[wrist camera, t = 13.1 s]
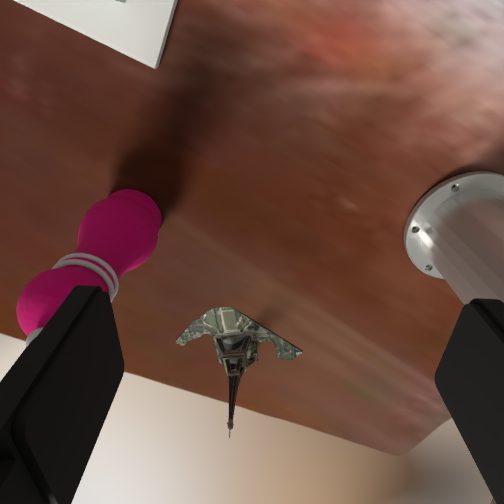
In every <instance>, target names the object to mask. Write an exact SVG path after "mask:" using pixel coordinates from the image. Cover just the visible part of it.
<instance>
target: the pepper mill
mask: <svg viewBox="0 0 504 504" xmlns="http://www.w3.org/2000/svg"><path fill="white" fill-rule="evenodd" d="M161 221H162V218H161V213H160V210H159V208H158V206H157V204H156V203H155V202H154V200H153V199H152V198H150V197H149V196H148V195H146V194H145V193H143V192H140V191H138V190H134V189H122V190H118V191H116V192H114V193H112V194H111V195H110V196H109V197H108V198H107V199H105V200H102V201H100V202H98V203H96V204H94V205H93V206H92V207H91V208H90V209H89V210H88V211H87V213H86V214H85V216H84V217H83V219H82V221H81V224H80V227H79V231H78V246H77V249H76V251H75V252H74V253H73V254H69V255H67V256H65V257H63V258H61V259H60V260H59V261H58V262H57V264H56V265H55V266H54V267H53V268H52V269H50V270H47V271H45V272H42V273H40V274H38V275H37V276H36V277H34V278H33V279H32V280H31V281H30V282H29V283H28V284H27V285H26V286H25V288H24V289H23V291H22V293H21V295H20V297H19V299H18V303H17V309H16V310H17V318H18V321H19V324H20V327H21V328H22V330H23V331H24V333H25V334H26V335H27V336H28V337H27V340H26V347H27V346H28V345H29V343H30V342H31V341H32V340H33V339H34V338H35V337H37V336H38V334H39V333H40V332H41V330H42V329H43V328H44V326H45V325H46V324H47V322H48V321H49V320H50V318H51V317H52V316H53V314H54V313H55V312H56V310H57V309H58V308H59V306H60V305H61V304H62V302H63V301H64V300H65V298H66V297H67V296H68V295H69V293H70V292H71V291H72V289H73V288H74V287H75V286H77V285H89V286H100V287H101V288H102V290H103V292H108V293H109V296H110V300H111V302H112V301H113V298H114V297H115V295H116V294H117V291H118V285H119V284H118V279H119V278H120V276H121V275H122V274H123V273H125V272H127V271H130V270H132V269H134V268H136V267H138V266H140V265H141V264H142V263H144V262H145V261H146V260H147V259H148V258H149V257H150V255H151V254H152V252H153V251H154V249H155V247H156V243H157V238H158V236H157V233H158V231H159V229H160V226H161Z"/></svg>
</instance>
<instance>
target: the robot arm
mask: <svg viewBox="0 0 504 504" xmlns="http://www.w3.org/2000/svg"><path fill="white" fill-rule="evenodd" d="M404 246H405V249H406V252H407V254H408V256H409V257H410V259H411V261H412V262H413V263H414V264H415V265H416V267H417V268H418V269H420V270H421V271H422V272H424V273H426V274H428V275H430V276H433V277H437V278H442V279H445V280H446V282H447V283H448V284H449V285H450V287H451V288H452V289H453V291H454V292H455V293H456V294H457V296H458V297H459V298H460V300H461V301H462V302H463V303H464V307H463V309H462V311H461V313H460V316H459V318H458V320H457V323H456V325H455V328H454V330H453V332H452V335H451V337H450V339H449V342H448V344H447V347H446V349H445V351H444V354H443V356H442V358H441V361H440V363H439V366H438V368H437V370H436V373H435V384H436V387H437V389H438V391H439V393H440V395H441V397H442V399H443V401H444V403H445V405H446V407H447V408H448V410H449V412H450V414H451V416H452V418H453V420H454V422H455V424H456V426H457V428H458V430H459V432H460V434H461V436H462V437H463V440H464V441H465V443H466V445H467V447H468V449H469V451H470V453H471V455H472V457H473V459H474V461H475V463H476V465H477V467H478V469H479V471H480V473H481V474H482V476H483V478H484V480H485V482H486V484H487V486H488V488H489V490H490V492H491V494H492V496H493V499H492V502H491V504H504V175H502V174H498V173H494V172H490V171H475V172H468V173H463V174H460V175H457V176H454V177H451V178H449V179H447V180H445V181H443V182H441V183H440V184H438V185H437V186H435V187H434V188H432V189H431V190H430V191H429V192H428V193H426V194H425V195H424V196H423V197H422V198H421V199H420V200H419V202H418V203H417V204H416V205H415V207H414V208H413V210H412V212H411V213H410V215H409V217H408V219H407V223H406V226H405V230H404ZM123 373H124V360H123V355H122V351H121V346H120V342H119V337H118V332H117V328H116V323H115V319H114V314H113V309H112V305H111V300H110V296H109V293H108V292H103V290H102V288H101V287H100V286H89V285H77V286H75V287H74V288H73V289H72V291H71V292H70V293H69V295H68V296H67V297H66V298H65V300H64V301H63V302H62V304H61V305H60V306H59V308H58V309H57V310H56V312H55V313H54V314H53V316H52V317H51V318H50V320H49V321H48V322H47V324H46V325H45V326H44V328H43V329H42V330H41V332H40V333H39V334H38V336H37V337H35V338H34V339H33V340H32V341H31V342H30V343H29V345H28V346H27V347H26V349H25V350H24V351H23V353H22V354H21V355H20V357H19V358H18V359H17V361H16V362H15V364H14V365H13V366H12V367H11V369H10V370H9V371H8V373H7V374H6V375H5V376H4V378H3V379H2V380H1V382H0V504H71V503H72V500H73V498H74V495H75V493H76V490H77V488H78V485H79V483H80V480H81V478H82V476H83V473H84V471H85V468H86V466H87V463H88V460H89V458H90V456H91V453H92V451H93V448H94V446H95V444H96V441H97V438H98V436H99V434H100V431H101V429H102V426H103V423H104V421H105V419H106V416H107V414H108V411H109V409H110V406H111V404H112V402H113V399H114V397H115V394H116V392H117V389H118V387H119V384H120V382H121V379H122V377H123Z"/></svg>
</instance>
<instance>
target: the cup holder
mask: <svg viewBox="0 0 504 504" xmlns="http://www.w3.org/2000/svg"><path fill="white" fill-rule="evenodd" d="M14 1H17V2H19V3H21V4H23V5H25V6H27V7H29V8H31V9H33V10H35V11H37V12H39V13H41V14H43V15H45V16H47V17H49V18H51V19H53V20H56V21H58V22H60V23H62V24H64V25H66V26H68V27H70V28H72V29H74V30H76V31H78V32H80V33H82V34H84V35H86V36H88V37H90V38H93V39H95V40H97V41H99V42H101V43H103V44H105V45H107V46H109V47H111V48H113V49H115V50H117V51H119V52H121V53H123V54H125V55H127V56H129V57H132V58H134V59H136V60H138V61H140V62H142V63H144V64H146V65H148V66H150V67H152V68H154V69H156V68H158V67H159V63H160V60H161V56H162V53H163V49H164V46H165V43H166V39H167V36H168V32H169V29H170V25H171V22H172V18H173V15H174V11H175V8H176V4H177V1H178V0H14Z"/></svg>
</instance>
